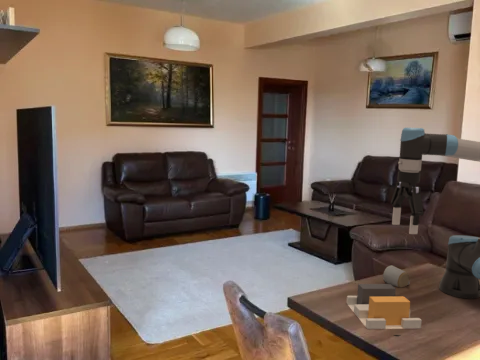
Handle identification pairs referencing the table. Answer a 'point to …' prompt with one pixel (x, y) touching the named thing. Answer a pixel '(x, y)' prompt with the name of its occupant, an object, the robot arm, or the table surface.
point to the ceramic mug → (396, 276)
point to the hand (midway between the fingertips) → (404, 229)
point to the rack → (379, 323)
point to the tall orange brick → (389, 308)
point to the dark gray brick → (373, 291)
